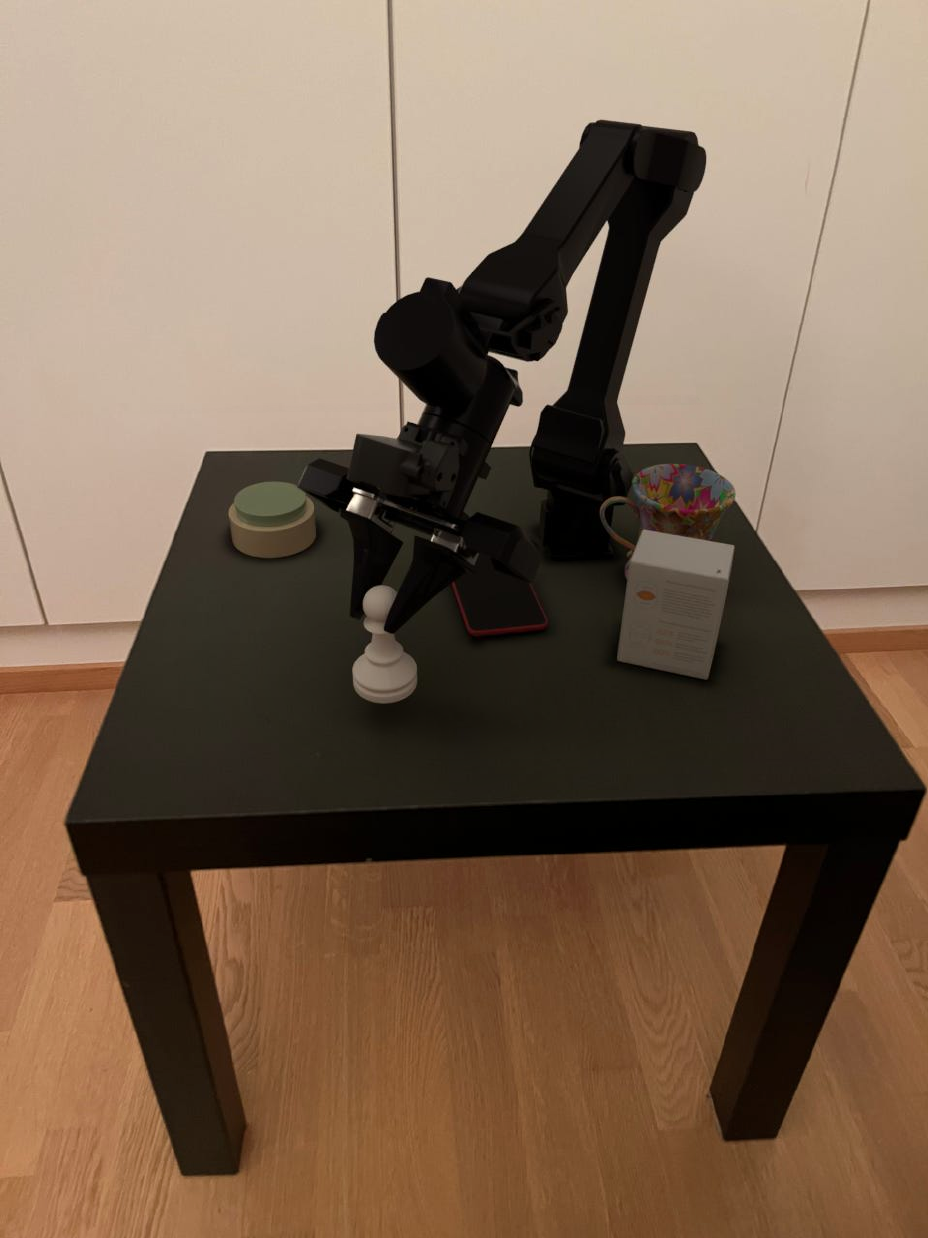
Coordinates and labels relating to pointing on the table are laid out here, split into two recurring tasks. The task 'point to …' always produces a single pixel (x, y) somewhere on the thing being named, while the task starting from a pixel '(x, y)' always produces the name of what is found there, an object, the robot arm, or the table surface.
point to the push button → (272, 520)
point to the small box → (674, 603)
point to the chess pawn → (383, 655)
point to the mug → (676, 502)
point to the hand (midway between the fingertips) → (370, 625)
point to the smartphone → (497, 602)
